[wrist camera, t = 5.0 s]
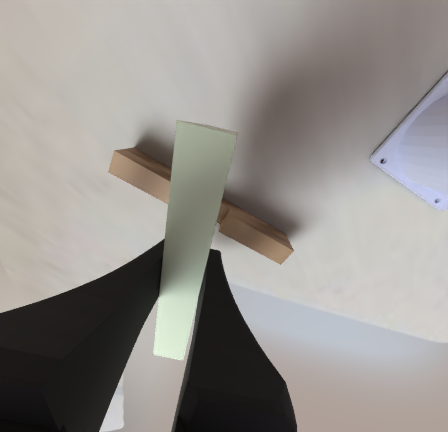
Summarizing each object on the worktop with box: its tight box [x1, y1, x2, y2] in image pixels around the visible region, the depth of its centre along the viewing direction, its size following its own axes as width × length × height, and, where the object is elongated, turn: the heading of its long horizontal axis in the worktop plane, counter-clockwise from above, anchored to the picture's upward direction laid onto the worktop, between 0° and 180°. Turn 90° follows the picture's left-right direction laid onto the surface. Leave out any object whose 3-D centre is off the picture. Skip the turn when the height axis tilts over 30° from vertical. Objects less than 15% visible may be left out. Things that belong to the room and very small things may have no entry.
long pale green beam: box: [153, 120, 237, 360], centre depth 12 cm, size 14×2×7 cm, turn 167°
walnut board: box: [108, 148, 294, 264], centre depth 18 cm, size 18×2×3 cm, turn 60°
